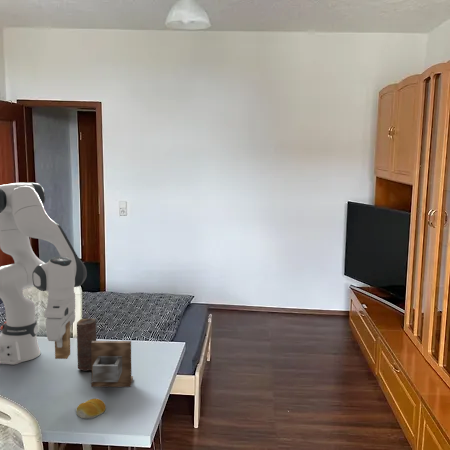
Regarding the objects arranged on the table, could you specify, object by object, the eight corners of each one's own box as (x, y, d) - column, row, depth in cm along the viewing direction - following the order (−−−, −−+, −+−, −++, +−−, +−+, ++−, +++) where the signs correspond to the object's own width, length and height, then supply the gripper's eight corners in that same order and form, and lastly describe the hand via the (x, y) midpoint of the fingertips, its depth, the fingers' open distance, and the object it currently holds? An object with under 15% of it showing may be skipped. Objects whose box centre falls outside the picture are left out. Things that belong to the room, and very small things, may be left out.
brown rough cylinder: (91, 374, 185) (90, 324, 182) (73, 372, 186) (72, 322, 184) (100, 366, 192) (99, 317, 190) (83, 364, 194) (82, 316, 191)
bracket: (85, 398, 167) (84, 353, 164) (95, 379, 181) (94, 337, 179) (126, 398, 167) (125, 353, 165) (132, 379, 182) (132, 337, 179)
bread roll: (110, 410, 159) (110, 399, 159) (88, 422, 152) (88, 410, 152) (94, 403, 164) (93, 391, 164) (71, 414, 157) (71, 402, 156)
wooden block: (55, 358, 166) (54, 325, 164) (58, 353, 170) (58, 321, 168) (67, 358, 166) (66, 325, 164) (70, 354, 170) (69, 321, 168)
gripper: (61, 295, 175) (62, 332, 177) (42, 314, 155) (43, 355, 157) (79, 296, 175) (79, 332, 178) (62, 314, 155) (62, 355, 157)
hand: (62, 343), depth 167 cm, fingers closed on wooden block, 4 cm apart
